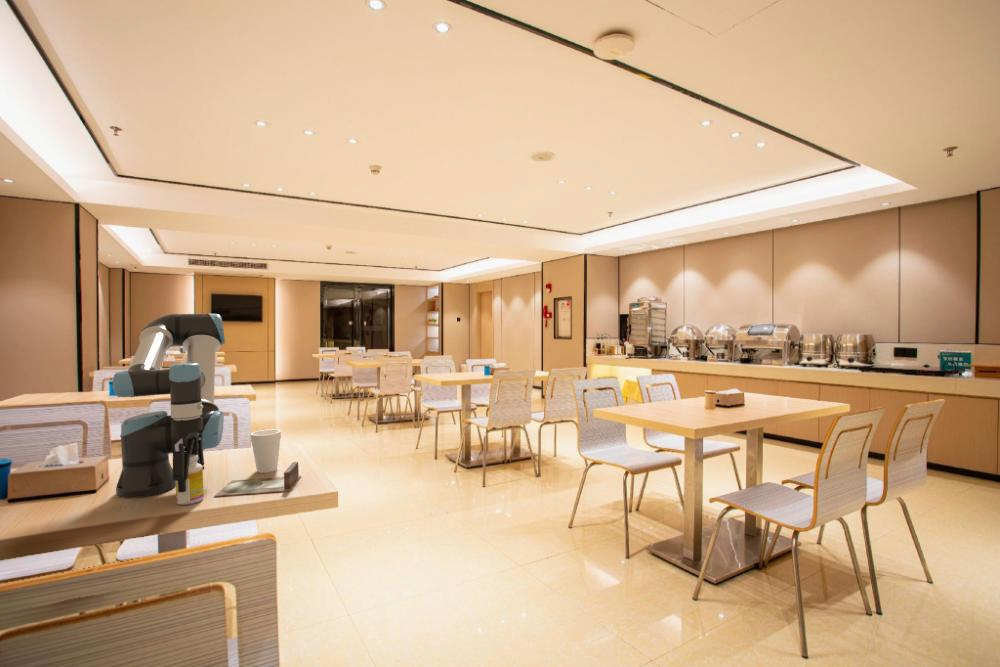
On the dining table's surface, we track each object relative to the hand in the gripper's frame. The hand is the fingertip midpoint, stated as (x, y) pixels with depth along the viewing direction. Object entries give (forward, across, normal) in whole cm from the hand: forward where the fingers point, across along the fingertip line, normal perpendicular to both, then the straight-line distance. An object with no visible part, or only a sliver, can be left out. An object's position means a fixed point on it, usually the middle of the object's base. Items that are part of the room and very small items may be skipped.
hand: (190, 497), depth 141 cm
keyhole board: (+1, +9, -16) cm, 18 cm away
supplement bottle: (+1, 0, 0) cm, 1 cm away
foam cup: (+1, +27, -13) cm, 30 cm away
